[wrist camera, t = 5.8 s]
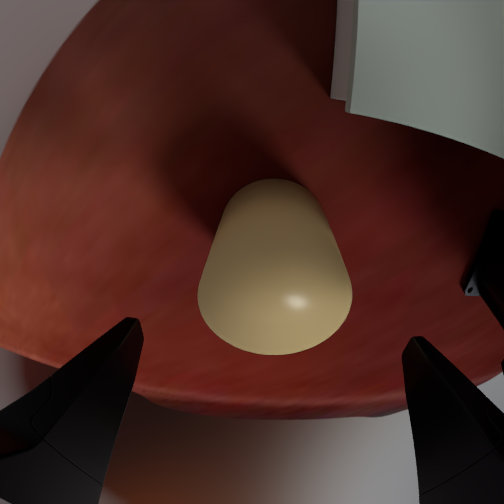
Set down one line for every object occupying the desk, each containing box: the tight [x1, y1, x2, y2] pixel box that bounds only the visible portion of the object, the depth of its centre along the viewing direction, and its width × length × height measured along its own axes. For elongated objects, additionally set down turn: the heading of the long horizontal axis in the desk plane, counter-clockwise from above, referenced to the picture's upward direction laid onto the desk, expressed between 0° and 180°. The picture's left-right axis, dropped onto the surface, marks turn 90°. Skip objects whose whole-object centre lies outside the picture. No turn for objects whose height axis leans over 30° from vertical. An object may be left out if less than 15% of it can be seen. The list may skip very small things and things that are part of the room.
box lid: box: [345, 0, 504, 159], centre depth 5 cm, size 10×11×1 cm
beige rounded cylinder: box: [198, 179, 352, 355], centre depth 13 cm, size 6×6×6 cm
